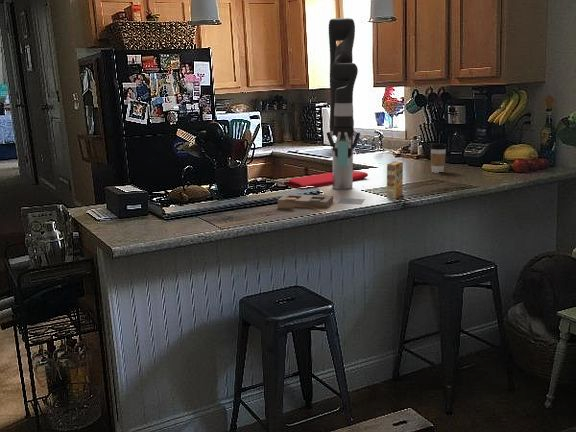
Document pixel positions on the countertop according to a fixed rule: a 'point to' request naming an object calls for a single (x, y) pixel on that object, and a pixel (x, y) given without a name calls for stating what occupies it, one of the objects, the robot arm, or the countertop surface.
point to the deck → (350, 201)
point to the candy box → (394, 179)
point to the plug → (343, 153)
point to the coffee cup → (438, 157)
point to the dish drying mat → (320, 179)
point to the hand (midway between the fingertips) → (343, 157)
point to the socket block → (304, 201)
